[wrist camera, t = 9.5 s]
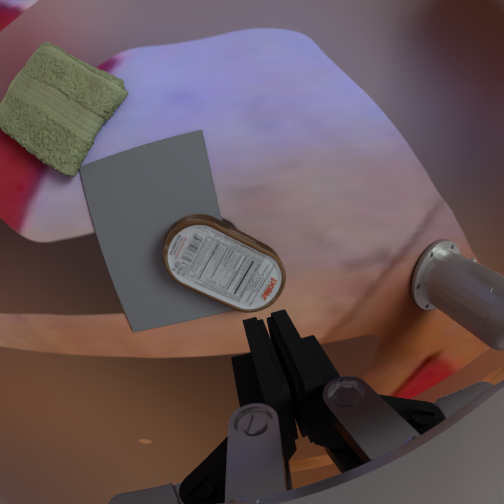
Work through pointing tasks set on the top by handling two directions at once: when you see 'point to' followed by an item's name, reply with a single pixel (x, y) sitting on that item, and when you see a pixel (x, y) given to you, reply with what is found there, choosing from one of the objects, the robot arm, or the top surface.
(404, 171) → the top surface
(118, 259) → the mat
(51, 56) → the washcloth
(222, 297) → the tin
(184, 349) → the top surface
